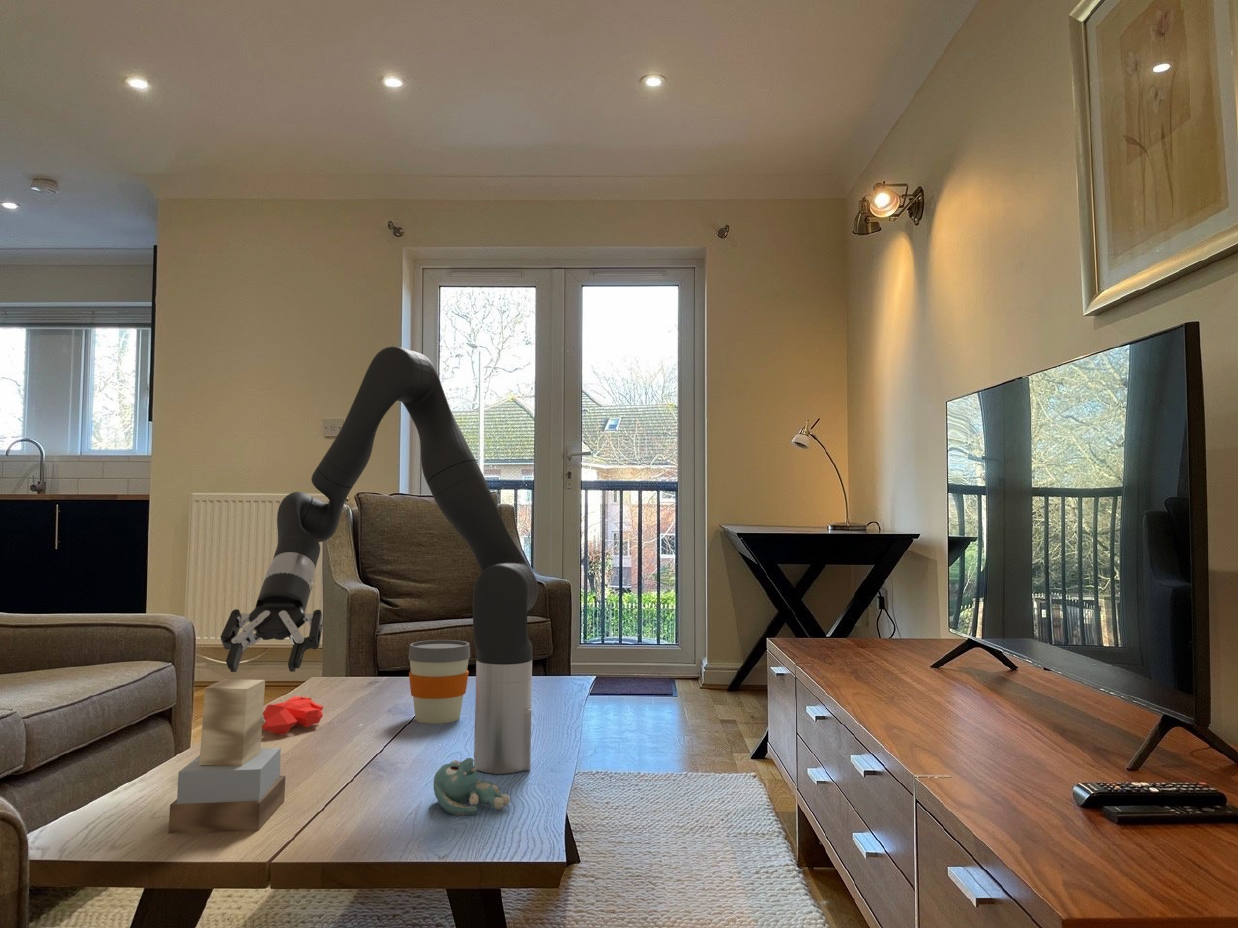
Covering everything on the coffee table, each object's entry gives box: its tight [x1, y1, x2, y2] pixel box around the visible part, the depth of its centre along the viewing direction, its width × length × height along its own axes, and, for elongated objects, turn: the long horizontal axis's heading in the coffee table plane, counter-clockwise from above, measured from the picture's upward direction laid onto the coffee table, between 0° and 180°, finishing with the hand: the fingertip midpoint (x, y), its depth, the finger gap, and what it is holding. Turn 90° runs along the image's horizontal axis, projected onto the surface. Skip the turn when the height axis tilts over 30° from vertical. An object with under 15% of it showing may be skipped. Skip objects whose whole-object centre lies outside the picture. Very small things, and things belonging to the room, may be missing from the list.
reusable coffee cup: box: [407, 639, 471, 725], centre depth 164 cm, size 13×13×15 cm
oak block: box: [199, 678, 266, 766], centre depth 109 cm, size 6×6×10 cm
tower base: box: [168, 775, 287, 834], centre depth 108 cm, size 11×11×4 cm
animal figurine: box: [262, 695, 324, 736], centre depth 154 cm, size 12×15×5 cm
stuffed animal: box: [433, 757, 511, 817], centre depth 113 cm, size 11×7×12 cm
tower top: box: [176, 747, 282, 804], centre depth 108 cm, size 10×10×4 cm
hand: (262, 668), depth 120 cm, fingers open, 8 cm apart
